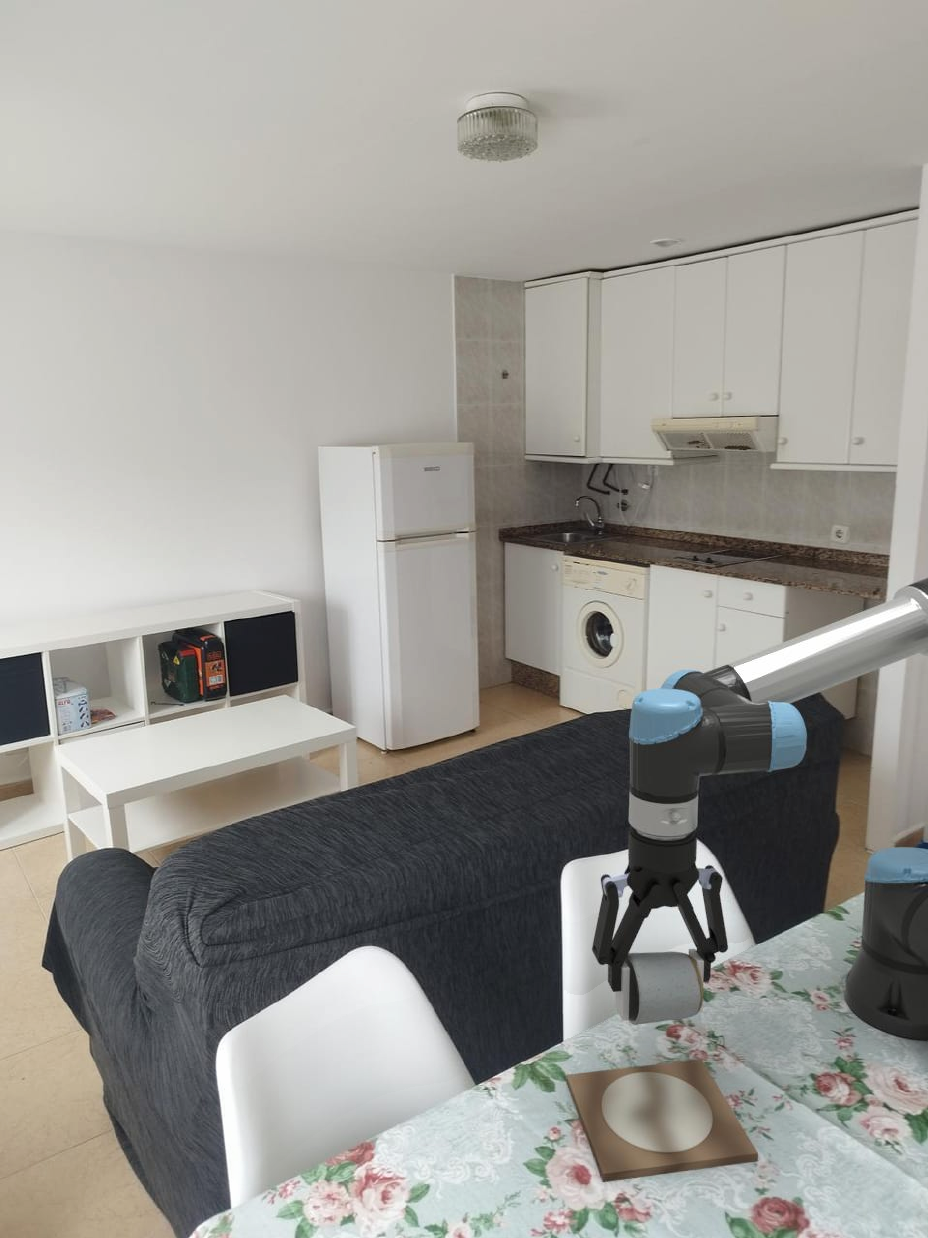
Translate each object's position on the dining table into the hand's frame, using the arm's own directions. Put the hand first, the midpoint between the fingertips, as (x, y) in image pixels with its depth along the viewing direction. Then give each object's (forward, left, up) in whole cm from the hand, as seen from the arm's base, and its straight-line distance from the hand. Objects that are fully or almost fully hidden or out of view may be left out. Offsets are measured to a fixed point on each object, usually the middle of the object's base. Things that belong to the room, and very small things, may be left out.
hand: (658, 1009), depth 104 cm
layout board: (0, 0, -15) cm, 15 cm away
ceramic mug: (0, -1, -1) cm, 1 cm away
